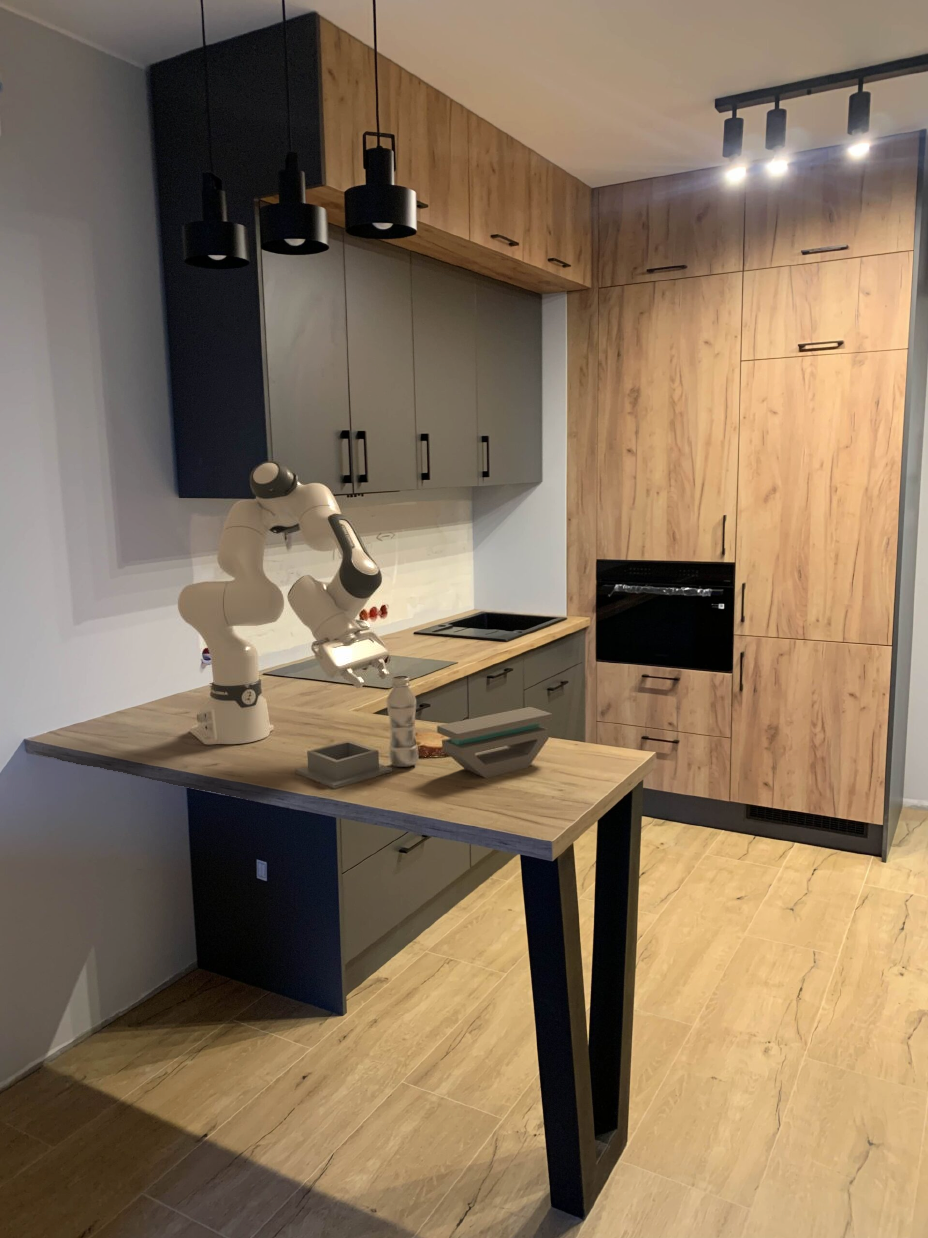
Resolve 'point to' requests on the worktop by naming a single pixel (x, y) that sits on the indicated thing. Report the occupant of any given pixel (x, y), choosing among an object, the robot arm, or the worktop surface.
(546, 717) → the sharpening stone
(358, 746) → the holder
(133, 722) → the worktop surface
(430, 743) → the slice of bread
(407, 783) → the worktop surface
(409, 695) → the plastic bottle
